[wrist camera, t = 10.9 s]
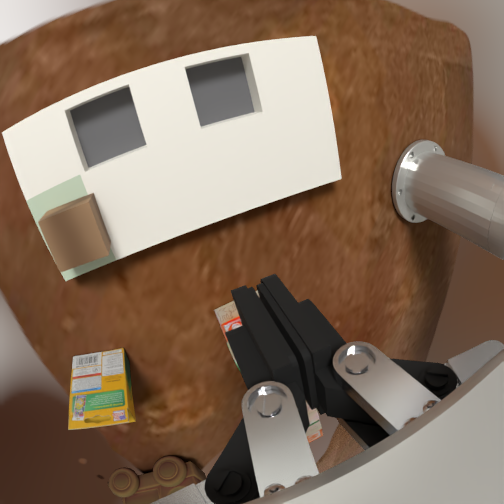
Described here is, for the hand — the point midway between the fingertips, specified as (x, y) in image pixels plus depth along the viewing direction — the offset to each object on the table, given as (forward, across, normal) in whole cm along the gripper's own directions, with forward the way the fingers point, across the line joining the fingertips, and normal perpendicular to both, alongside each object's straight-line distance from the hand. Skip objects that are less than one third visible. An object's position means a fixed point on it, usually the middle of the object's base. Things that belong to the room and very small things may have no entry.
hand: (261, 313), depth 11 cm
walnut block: (+19, +11, 0) cm, 22 cm away
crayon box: (+22, +18, +17) cm, 33 cm away
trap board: (+22, 0, -4) cm, 22 cm away
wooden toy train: (+22, +26, +50) cm, 61 cm away
